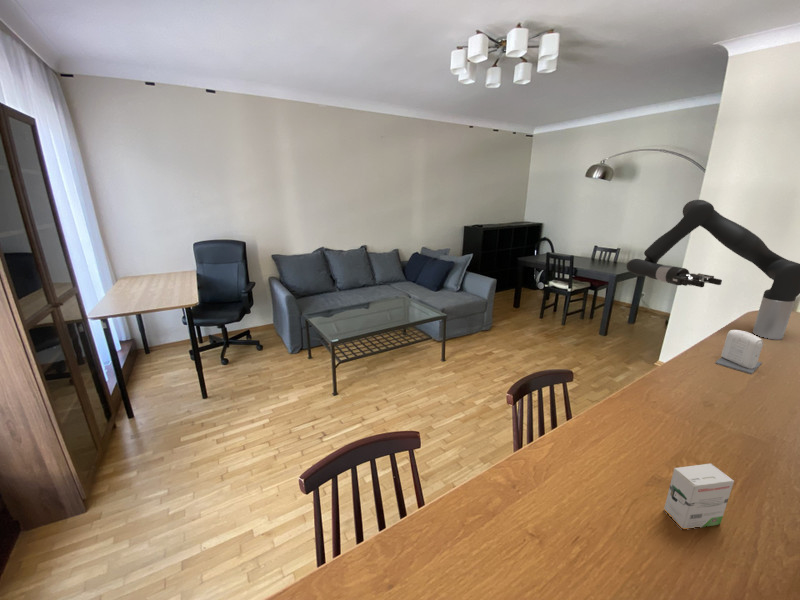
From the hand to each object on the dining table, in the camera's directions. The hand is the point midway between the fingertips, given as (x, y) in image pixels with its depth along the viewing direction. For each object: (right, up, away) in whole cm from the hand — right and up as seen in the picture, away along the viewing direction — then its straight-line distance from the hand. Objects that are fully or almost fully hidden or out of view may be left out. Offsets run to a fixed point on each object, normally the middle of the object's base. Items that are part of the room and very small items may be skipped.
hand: (712, 283), depth 131 cm
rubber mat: (+5, -31, -5) cm, 31 cm away
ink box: (-62, -52, -61) cm, 102 cm away
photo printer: (+5, -30, -5) cm, 31 cm away
